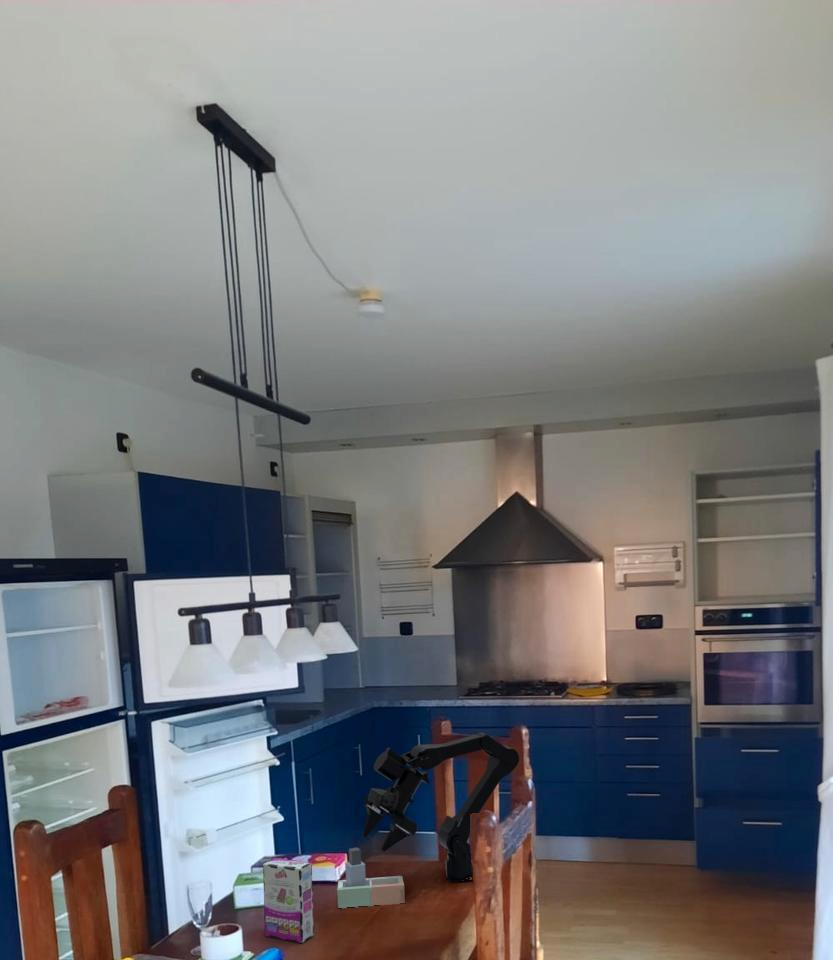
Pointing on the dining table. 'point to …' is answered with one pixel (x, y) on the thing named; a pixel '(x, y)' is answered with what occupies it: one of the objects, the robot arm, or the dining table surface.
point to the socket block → (372, 892)
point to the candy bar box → (288, 900)
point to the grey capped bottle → (355, 869)
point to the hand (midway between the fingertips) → (373, 843)
